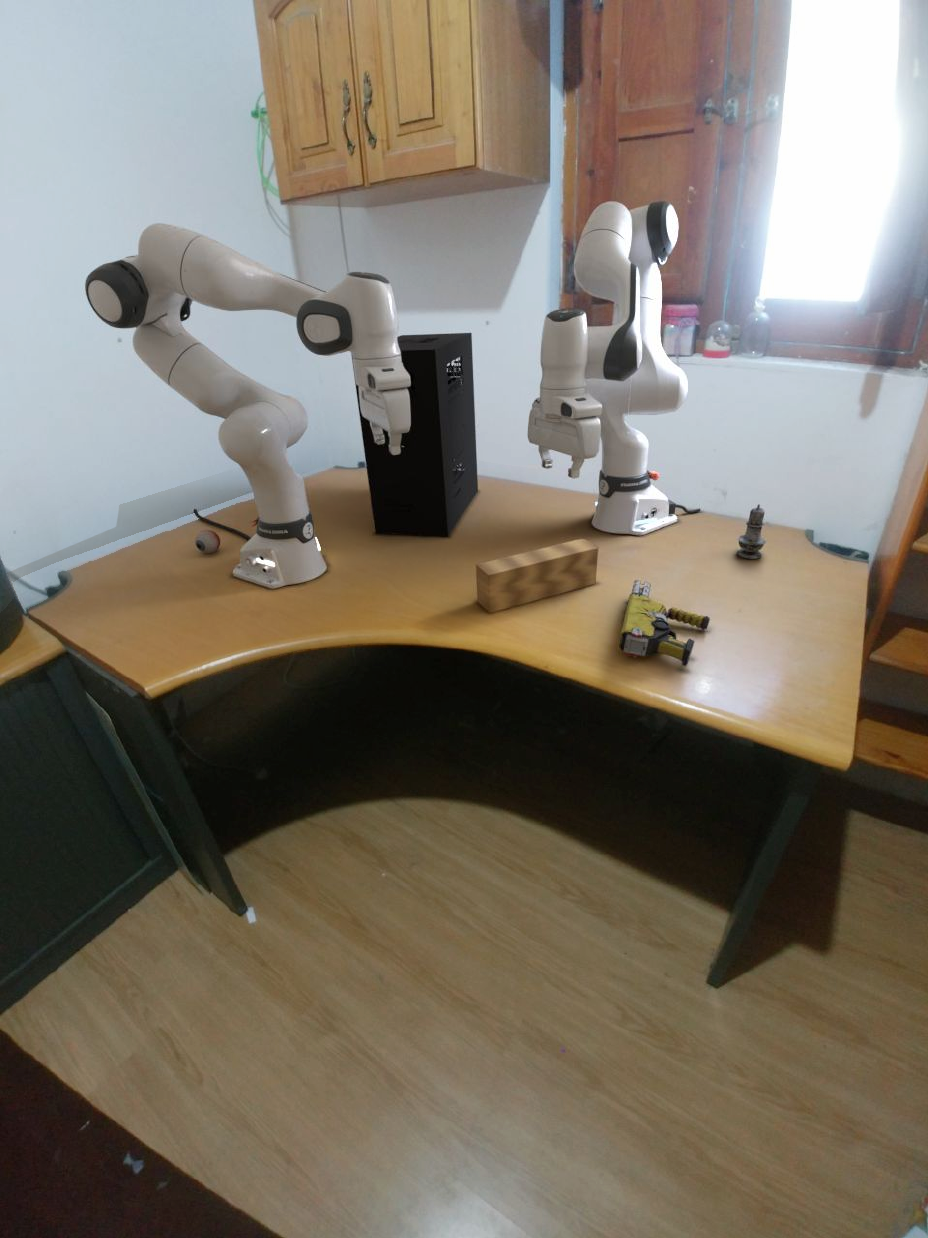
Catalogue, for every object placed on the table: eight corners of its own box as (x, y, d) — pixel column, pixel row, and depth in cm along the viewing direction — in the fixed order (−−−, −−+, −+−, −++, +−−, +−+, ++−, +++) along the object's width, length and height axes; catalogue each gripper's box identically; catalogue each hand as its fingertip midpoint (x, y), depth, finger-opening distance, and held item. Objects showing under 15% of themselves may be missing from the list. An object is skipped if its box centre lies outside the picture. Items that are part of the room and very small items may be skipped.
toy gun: (711, 591, 118) (634, 577, 122) (713, 651, 98) (620, 632, 102) (705, 612, 120) (629, 597, 124) (706, 675, 100) (615, 655, 104)
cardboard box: (448, 536, 158) (435, 349, 135) (375, 533, 162) (351, 351, 140) (477, 490, 189) (471, 332, 167) (416, 489, 194) (401, 335, 171)
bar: (580, 573, 135) (582, 538, 131) (596, 583, 130) (598, 547, 126) (477, 601, 126) (475, 564, 122) (489, 613, 122) (488, 575, 117)
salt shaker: (765, 559, 136) (776, 508, 130) (737, 558, 137) (747, 508, 131) (759, 549, 141) (770, 499, 135) (733, 548, 142) (742, 499, 136)
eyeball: (192, 555, 155) (186, 534, 152) (210, 546, 160) (204, 525, 157) (210, 558, 153) (204, 536, 150) (227, 548, 158) (222, 527, 155)
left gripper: (347, 368, 118) (357, 440, 125) (379, 381, 102) (388, 463, 109) (378, 365, 120) (386, 435, 127) (413, 377, 104) (420, 457, 111)
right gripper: (520, 397, 125) (520, 464, 131) (580, 410, 109) (576, 486, 115) (545, 394, 127) (544, 460, 134) (608, 406, 111) (603, 480, 118)
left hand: (387, 448), depth 118 cm, fingers open, 8 cm apart
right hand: (559, 472), depth 124 cm, fingers open, 8 cm apart
